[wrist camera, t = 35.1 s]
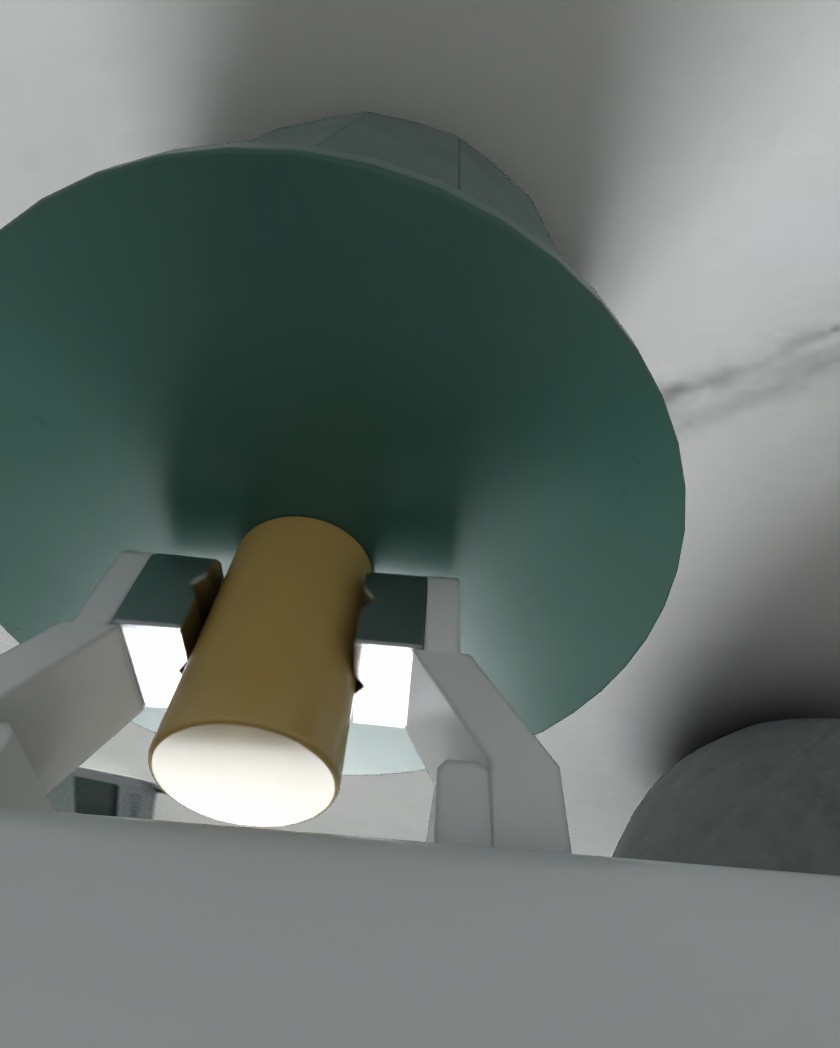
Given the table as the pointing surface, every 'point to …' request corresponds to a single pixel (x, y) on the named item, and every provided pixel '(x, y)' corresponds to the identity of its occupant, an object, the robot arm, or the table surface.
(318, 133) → the tin
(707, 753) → the bowl
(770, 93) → the table surface
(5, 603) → the tin lid
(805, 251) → the table surface
